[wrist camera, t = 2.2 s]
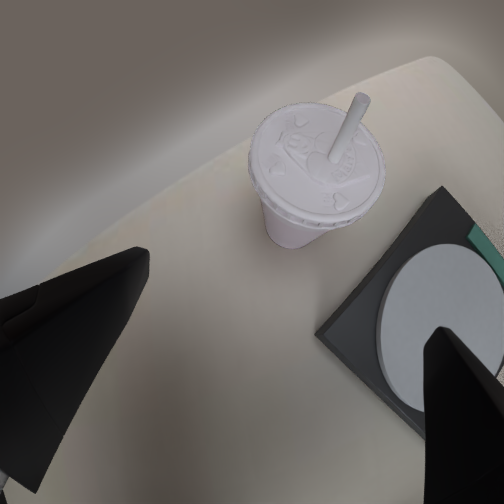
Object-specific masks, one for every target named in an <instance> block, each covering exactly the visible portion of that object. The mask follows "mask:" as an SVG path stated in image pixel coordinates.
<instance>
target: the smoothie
mask: <svg viewBox="0 0 504 504" xmlns="http://www.w3.org/2000/svg"><path fill="white" fill-rule="evenodd" d="M370 102H371V99H370V97H369V96H368V95H367V94H365V93H362V92H358V93H356V95H355V97H354V99H353V101H352V104H351V106H350V108H349V110H348V113H347V112H345V111H343V110H340V109H338V108H336V107H333V106H329V105H325V104H320V103H296V104H291V105H288V106H285V107H282V108H280V109H278V110H276V111H274V112H273V113H271V114H270V115H269V116H267V117H266V118H265V119H264V120H263V121H262V122H261V124H260V125H259V126H258V128H257V129H256V131H255V133H254V135H253V138H252V141H251V146H250V151H249V154H248V171H249V174H250V177H251V181H252V184H253V187H254V188H255V190H256V192H257V193H258V195H259V196H260V198H261V203H262V208H263V214H264V219H265V225H266V230H267V233H268V235H269V236H270V238H271V239H272V240H273V241H274V242H275V243H276V244H277V245H279V246H281V247H284V248H287V249H297V248H301V247H303V246H305V245H307V244H308V243H310V242H312V241H313V240H315V239H316V238H318V237H320V236H321V235H323V234H324V233H326V232H328V231H329V230H332V229H336V228H340V227H344V226H348V225H350V224H351V223H353V222H355V221H357V220H358V219H360V218H362V217H363V216H364V215H365V214H366V213H367V211H368V210H369V209H370V208H371V207H372V206H373V204H374V203H375V201H376V200H377V199H378V197H379V195H380V194H381V191H382V189H383V186H384V182H385V174H386V170H385V161H384V157H383V154H382V151H381V148H380V146H379V144H378V142H377V141H376V139H375V138H374V136H373V135H372V133H371V132H370V131H369V130H368V129H367V128H366V127H365V126H364V125H363V124H362V123H361V122H360V121H361V119H362V117H363V115H364V114H365V112H366V110H367V108H368V106H369V104H370Z"/></svg>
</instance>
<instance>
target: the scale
mask: <svg viewBox="0 0 504 504" xmlns="http://www.w3.org/2000/svg"><path fill="white" fill-rule="evenodd" d="M438 326H443V327H447V328H450V329H451V330H452V331H453V332H454V333H455V334H456V335H457V336H458V337H459V338H460V339H461V340H462V342H463V343H464V344H465V345H466V346H467V347H468V348H469V349H470V350H471V351H472V352H473V353H474V354H475V355H476V356H477V358H478V359H479V360H480V361H481V362H482V363H483V364H484V365H485V366H486V367H487V369H488V370H489V371H490V372H491V373H492V374H493V375H494V376H495V378H496V377H497V376H498V374H499V372H500V370H501V369H502V367H503V365H504V259H503V257H502V256H501V255H500V253H499V252H498V251H497V249H496V248H495V247H494V245H493V244H492V243H491V242H490V240H489V239H488V238H487V236H486V235H485V234H484V233H483V231H482V230H481V229H480V228H479V227H478V225H477V224H476V223H475V222H474V221H473V219H472V218H471V217H470V216H469V215H468V213H467V212H466V211H465V210H464V209H463V208H462V207H461V205H460V204H459V203H458V202H457V201H456V200H455V199H454V198H453V197H452V195H451V194H450V193H449V192H448V191H447V190H446V189H445V188H444V187H443V186H441V187H440V188H438V189H437V190H436V191H435V192H433V193H432V194H431V195H430V196H428V198H427V199H426V200H425V202H424V203H423V205H422V206H421V207H420V209H419V210H418V211H417V213H416V214H415V215H414V217H413V218H412V219H411V221H410V222H409V223H408V225H407V226H406V227H405V228H404V230H403V231H402V232H401V234H400V235H399V236H398V238H397V239H396V240H395V241H394V243H393V244H392V245H391V246H390V248H389V249H388V250H387V251H386V253H385V254H384V255H383V256H382V258H381V259H380V260H379V261H378V262H377V264H376V265H375V266H374V267H373V268H372V270H371V271H370V272H369V273H368V274H367V276H366V277H365V278H364V279H363V280H362V282H361V283H360V284H359V285H358V286H357V287H356V289H355V290H354V291H353V292H352V293H351V294H350V295H349V297H348V298H347V299H346V300H345V301H344V302H343V303H342V304H341V306H340V307H339V308H338V309H337V310H336V311H335V312H334V313H333V314H332V316H331V317H330V318H329V319H328V320H327V321H326V322H325V323H324V324H323V325H322V326H321V328H320V329H319V330H318V331H317V332H316V333H315V336H316V337H317V338H318V339H319V340H320V341H322V342H323V343H324V344H325V345H326V346H327V347H328V348H329V349H330V350H331V351H332V352H333V353H334V354H335V355H336V356H337V357H338V358H339V359H340V360H341V361H342V362H343V363H344V364H345V365H346V366H347V367H348V368H349V369H351V370H352V371H353V372H354V373H355V374H356V375H357V376H358V377H359V378H360V379H361V380H362V381H363V382H364V383H365V384H366V385H367V386H368V387H369V388H370V389H371V390H372V391H373V392H375V393H376V394H377V395H378V396H379V397H380V398H381V399H382V400H383V401H384V402H385V403H386V404H387V405H388V406H389V407H390V408H391V409H392V410H393V411H395V412H396V413H397V414H398V415H399V416H400V417H401V418H402V419H403V420H404V421H405V422H406V423H407V424H408V425H409V426H410V427H411V428H413V429H414V430H415V431H416V432H417V433H418V434H419V435H420V436H421V437H422V438H423V439H424V440H425V419H424V400H423V349H424V345H425V343H426V342H427V340H428V339H429V338H430V336H431V335H432V333H433V332H434V330H435V329H436V328H437V327H438Z"/></svg>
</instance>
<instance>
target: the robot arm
mask: <svg viewBox="0 0 504 504" xmlns="http://www.w3.org/2000/svg"><path fill="white" fill-rule="evenodd" d="M149 262H150V253H149V251H148V250H147V249H144V248H141V247H133V248H130V249H127V250H125V251H122V252H119V253H117V254H114V255H111V256H109V257H106V258H104V259H101V260H98V261H96V262H93V263H91V264H88V265H85V266H83V267H80V268H78V269H75V270H73V271H70V272H68V273H65V274H63V275H60V276H58V277H55V278H53V279H50V280H48V281H45V282H43V283H41V284H40V285H36V286H33V287H31V288H28V289H26V290H23V291H21V292H18V293H16V294H13V295H11V296H8V297H5V298H2V299H0V504H7V501H6V498H5V495H4V492H3V488H4V486H5V484H6V482H7V480H8V478H9V477H11V478H12V479H14V480H15V481H16V482H18V483H19V484H21V485H22V486H24V487H25V488H27V489H28V490H30V491H31V492H33V493H34V494H36V492H37V490H38V488H39V486H40V484H41V482H42V480H43V478H44V476H45V473H46V471H47V469H48V467H49V465H50V463H51V461H52V459H53V457H54V455H55V453H56V451H57V449H58V447H59V445H60V443H61V441H62V439H63V435H65V433H66V431H67V429H68V427H69V425H70V423H71V421H72V419H73V417H74V415H75V413H76V412H77V410H78V408H79V406H80V404H81V402H82V400H83V399H84V397H85V395H86V393H87V391H88V390H89V388H90V386H91V384H92V382H93V381H94V379H95V377H96V375H97V374H98V372H99V370H100V368H101V367H102V365H103V363H104V361H105V360H106V358H107V356H108V354H109V353H110V351H111V349H112V348H113V346H114V344H115V343H116V341H117V339H118V338H119V336H120V334H121V333H122V331H123V329H124V328H125V326H126V324H127V322H128V321H129V319H130V316H131V314H132V312H133V310H134V308H135V306H136V304H137V301H138V299H139V297H140V295H141V293H142V291H143V289H144V287H145V284H146V282H147V280H148V277H149ZM423 400H424V419H425V485H424V503H423V504H504V387H503V386H502V384H501V383H500V382H499V381H498V380H497V379H496V378H495V376H494V375H493V374H492V373H491V372H490V371H489V370H488V369H487V367H486V366H485V365H484V364H483V363H482V362H481V361H480V360H479V359H478V358H477V356H476V355H475V354H474V353H473V352H472V351H471V350H470V349H469V348H468V347H467V346H466V345H465V344H464V343H463V342H462V340H461V339H460V338H459V337H458V336H457V335H456V334H455V333H454V332H453V331H452V330H451V329H450V328H447V327H443V326H438V327H437V328H436V329H435V330H434V332H433V333H432V335H431V336H430V338H429V339H428V340H427V342H426V343H425V345H424V349H423Z"/></svg>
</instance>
